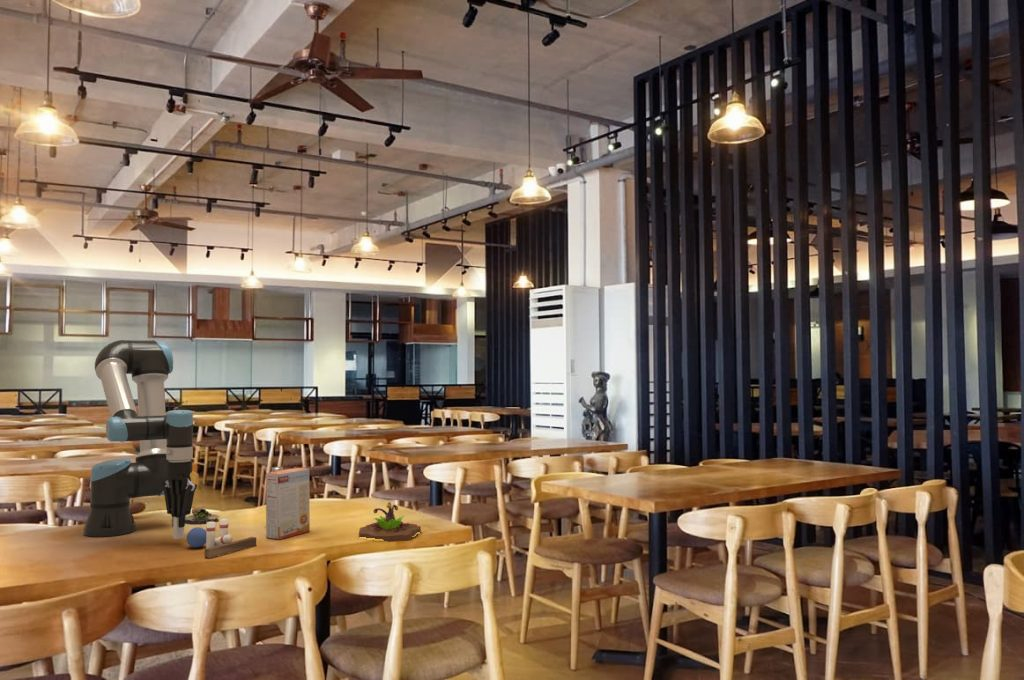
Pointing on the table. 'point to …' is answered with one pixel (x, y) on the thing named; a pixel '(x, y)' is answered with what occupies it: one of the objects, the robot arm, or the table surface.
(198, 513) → the dish garden
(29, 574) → the table surface
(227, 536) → the front pin
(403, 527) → the plant
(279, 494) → the cracker box
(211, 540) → the back pin right
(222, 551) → the back rail
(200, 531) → the ball
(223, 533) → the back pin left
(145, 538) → the table surface
